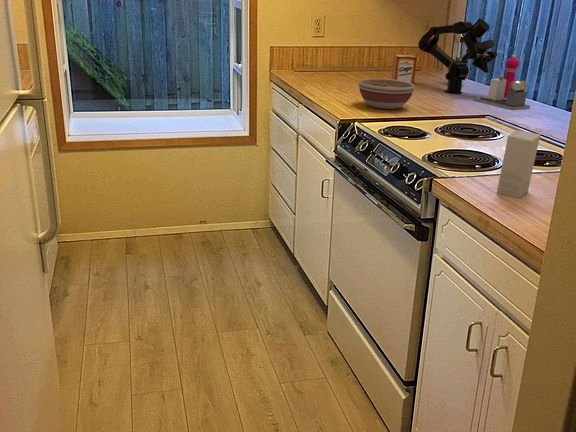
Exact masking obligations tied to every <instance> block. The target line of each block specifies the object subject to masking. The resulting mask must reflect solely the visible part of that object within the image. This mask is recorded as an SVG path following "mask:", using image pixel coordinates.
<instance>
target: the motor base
mask: <svg viewBox="0 0 576 432" xmlns="http://www.w3.org/2000/svg"><path fill="white" fill-rule="evenodd" d="M509 88H510V90H511V91H508V92H507V98H503V100H492V99H488V96H480V97H473V99H472V101H475V102H478V103H482V104H486V105H490V106H495V107H498V108H503V109H506V110H509V111H510V110H511V111H515V109H518V110H526V109H525V108H527V109H531V105H530V104H526V100H527V95H528V91H526V90H527V88H528V82H527V81H525V80H515V81H513V82H511V83H510V86H509Z"/></svg>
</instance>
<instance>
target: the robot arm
mask: <svg viewBox="0 0 576 432" xmlns="http://www.w3.org/2000/svg"><path fill="white" fill-rule="evenodd" d="M483 19H484V18H478V19H477V20H476V22H475V23H474V24H472V22H471V21H460V20H459V21H458V22H455V23H453V24H450V25H441V26H431V27H430V28H429V30H428V31H427V32H426V33H425V34H423V35H422V37H421V38H420V39H419V40H418V49H419V50H420V51H422V52H423V53H427V54H430V55H431V56H433V57H434V58H435V59H436V60H438V61H439V62H440V63H441V64H442V65H443V66H445V67H446V68H447V70H448V72H447V73H446V74H445V80H447V88H446V90H444V92H446V93H449V94H452V95H453V94H454V95H455V94H456V95H457V94H464V92H463V91H462V88H463V84H462V83H463V81H466V79H467V76H468V75H469V71H470V69H469V68H470V67H469V66H468V62H469V61H471V60H472V62H471V65H472V66H474V67H476V68H478V69H479V70H481V71H482V72H484V73H485V74H487V73H489V64H490V63H491V62H492V61H493V60H494V59H495V58H496V57H498V55H499V54H498V53H497V51H494V50H490V49H493V48H494V47H495V42H494V40H493V39H489V40H484V41H481V42H480V41H479V40H478V39H481V38H482V37H484V35H485V34H486V33H487V32H488V31H489V30H490V25H489V24H488V23H487V22H486V21H485V20H483ZM446 34H455V35H463V36H460V38H459V43H460V44H464V45H465V46H466V53H465V54H464V55H463V56H461V57H460V60H456V59H455V60H453V59H454V58H452V57H451V56H450V55H449V54H448V53H446V52H445V51H444V50H443V49H441V48H440V47H439V46H438V42H439V39H440V35H446ZM432 37H433V38H432ZM488 50H489V51H488Z"/></svg>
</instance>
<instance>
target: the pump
mask: <svg viewBox="0 0 576 432" xmlns="http://www.w3.org/2000/svg"><path fill="white" fill-rule="evenodd" d="M504 79H505V76H504V74H503V75H502V74H499V75H498V78H491V79H490V83H489V90H488V95H487V97H488V99H492V100H503V99H504V98H503V97H504V91H505V86H506V80H504Z"/></svg>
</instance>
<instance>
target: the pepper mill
mask: <svg viewBox="0 0 576 432" xmlns="http://www.w3.org/2000/svg"><path fill="white" fill-rule="evenodd" d="M516 57H517V55H516V54H512V55H511V57H510V58H507V60H506V61H505V66H506V69H505V72H506V73H505V76H504V78H503V79H504V80H506V86H505V91H504V97H503V99H506V98H507V92H508V91H511V90H510V88H509V86H510V83H511V82H513V81H516V80H515V75H516V74H517V72H518V68H519V66H520V61H519V59H518V58H516Z"/></svg>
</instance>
